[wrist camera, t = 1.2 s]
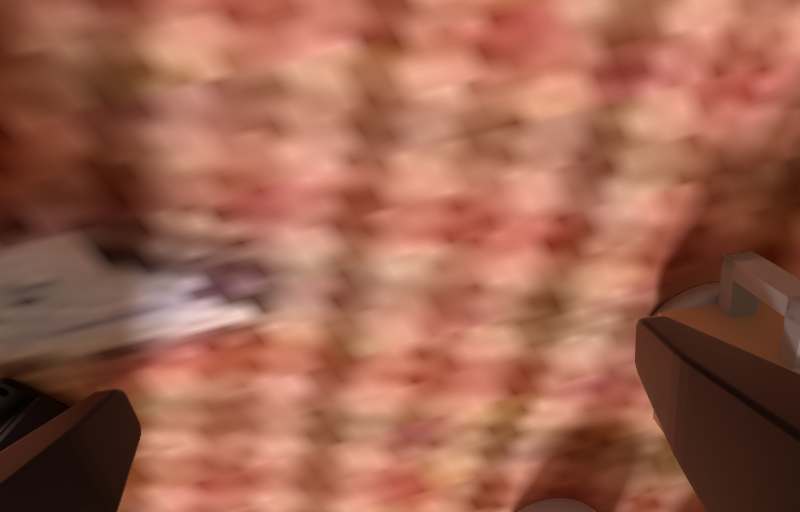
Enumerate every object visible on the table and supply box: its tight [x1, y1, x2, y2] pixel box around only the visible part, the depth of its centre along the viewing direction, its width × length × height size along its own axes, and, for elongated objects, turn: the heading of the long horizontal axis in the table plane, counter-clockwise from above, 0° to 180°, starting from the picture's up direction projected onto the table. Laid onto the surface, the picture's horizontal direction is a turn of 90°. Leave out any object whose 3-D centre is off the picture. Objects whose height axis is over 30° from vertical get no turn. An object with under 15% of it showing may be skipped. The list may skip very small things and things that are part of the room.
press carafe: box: [651, 251, 800, 431], centre depth 22 cm, size 7×9×7 cm
